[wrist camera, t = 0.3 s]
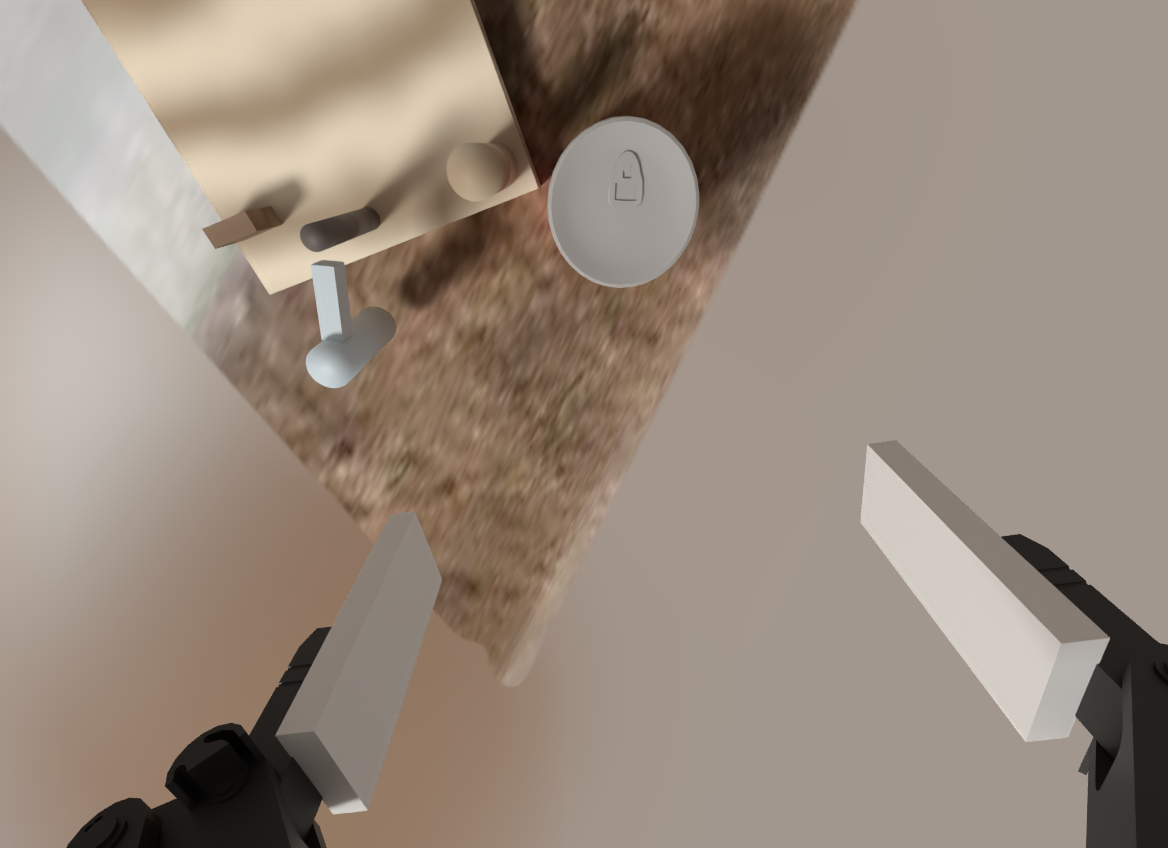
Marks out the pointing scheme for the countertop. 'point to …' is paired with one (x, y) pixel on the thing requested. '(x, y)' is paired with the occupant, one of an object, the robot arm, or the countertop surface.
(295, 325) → the countertop surface
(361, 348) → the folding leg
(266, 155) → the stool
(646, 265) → the canned food
